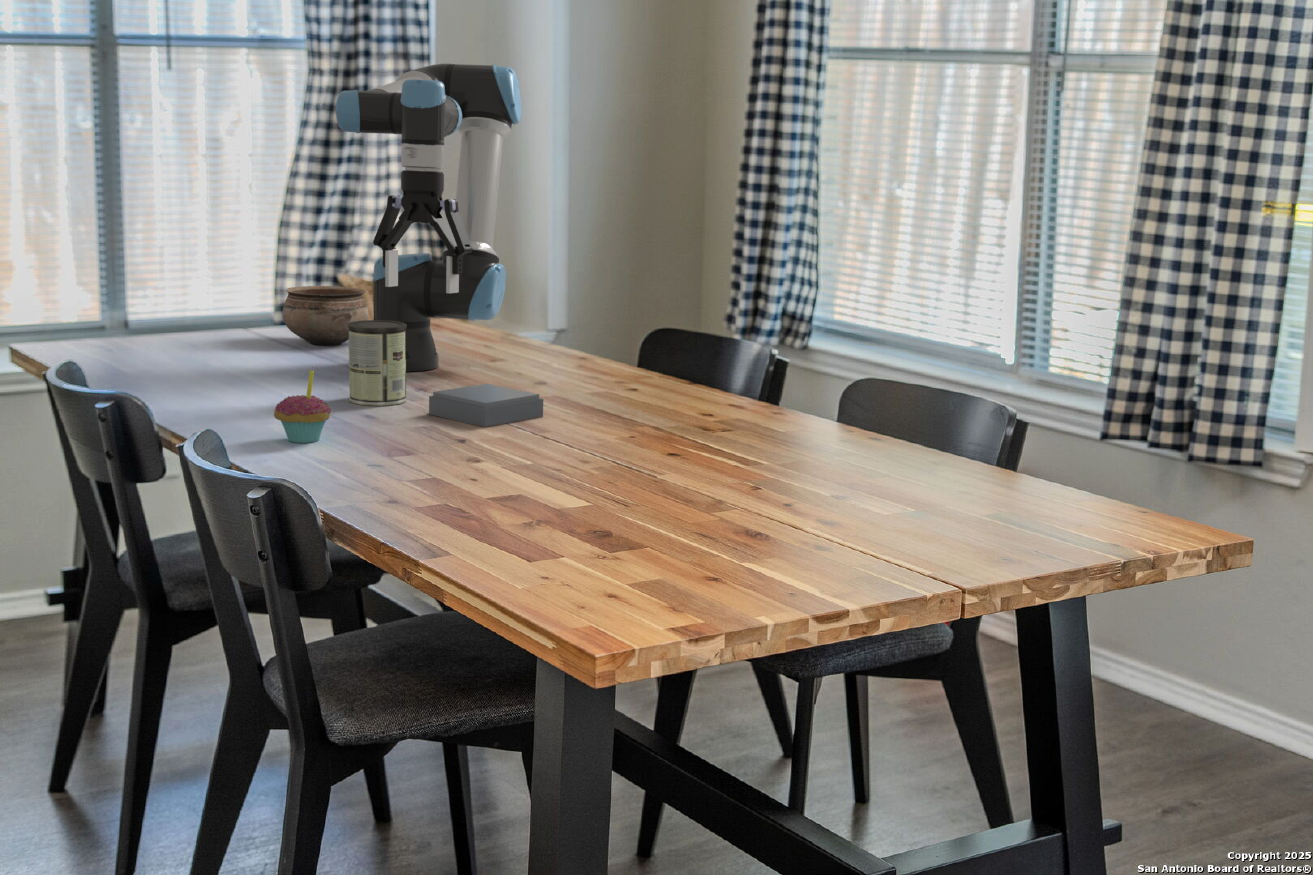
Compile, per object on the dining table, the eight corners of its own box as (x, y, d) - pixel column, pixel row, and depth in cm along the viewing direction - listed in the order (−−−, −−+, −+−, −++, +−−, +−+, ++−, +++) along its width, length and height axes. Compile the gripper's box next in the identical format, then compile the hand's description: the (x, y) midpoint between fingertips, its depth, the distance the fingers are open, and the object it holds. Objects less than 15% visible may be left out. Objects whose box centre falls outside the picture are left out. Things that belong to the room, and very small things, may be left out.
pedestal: (428, 414, 238) (429, 391, 237) (487, 404, 249) (487, 382, 248) (485, 427, 229) (485, 403, 228) (542, 416, 240) (543, 394, 239)
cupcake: (341, 438, 217) (340, 363, 214) (311, 448, 209) (310, 371, 206) (294, 432, 219) (293, 358, 217) (263, 442, 212) (261, 365, 209)
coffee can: (358, 394, 253) (358, 318, 250) (413, 397, 252) (413, 321, 249) (340, 404, 243) (340, 325, 240) (397, 407, 242) (397, 328, 239)
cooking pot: (388, 350, 305) (388, 295, 303) (306, 354, 294) (306, 298, 292) (343, 334, 325) (343, 283, 322) (265, 338, 314) (264, 285, 312)
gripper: (353, 166, 244) (353, 285, 248) (468, 173, 233) (466, 297, 237) (380, 166, 251) (380, 282, 255) (493, 173, 239) (490, 294, 244)
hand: (421, 289), depth 246 cm, fingers open, 13 cm apart
